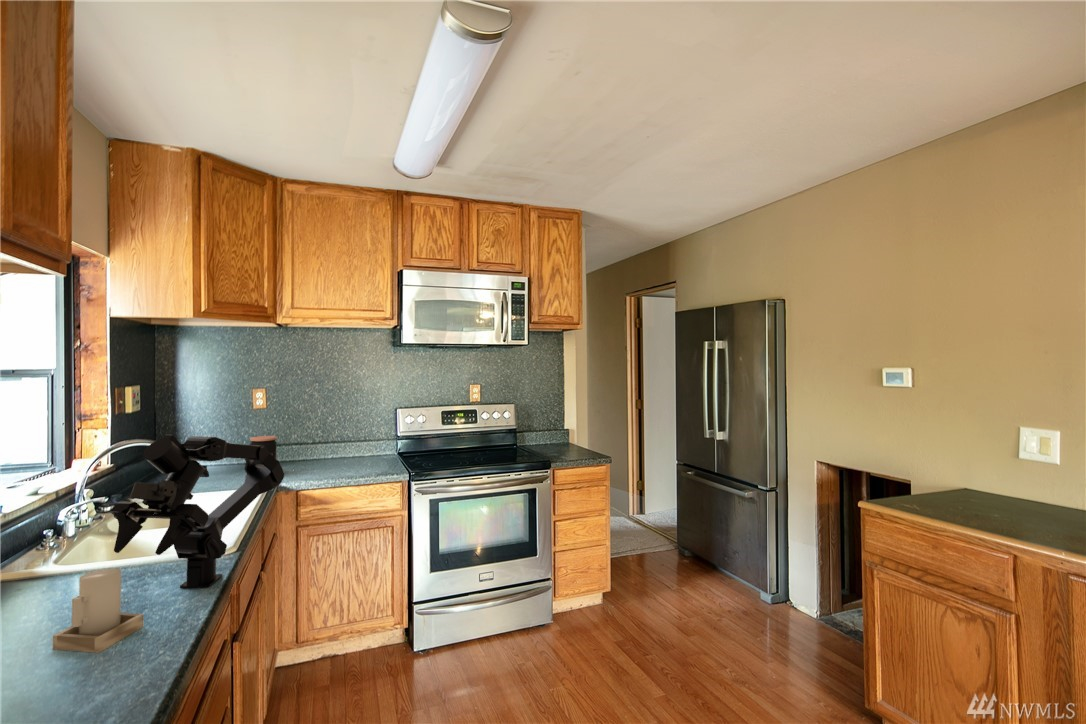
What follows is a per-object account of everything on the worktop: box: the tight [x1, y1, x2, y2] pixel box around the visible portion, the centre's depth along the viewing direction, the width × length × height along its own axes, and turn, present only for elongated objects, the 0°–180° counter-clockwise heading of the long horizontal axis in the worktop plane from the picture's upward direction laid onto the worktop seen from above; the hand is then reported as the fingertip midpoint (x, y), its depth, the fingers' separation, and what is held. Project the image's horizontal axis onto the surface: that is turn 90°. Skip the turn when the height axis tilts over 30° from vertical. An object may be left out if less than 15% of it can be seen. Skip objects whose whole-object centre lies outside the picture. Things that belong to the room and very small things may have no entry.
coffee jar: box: [249, 435, 277, 465], centre depth 236 cm, size 11×11×18 cm
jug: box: [71, 567, 122, 636], centre depth 97 cm, size 8×6×12 cm
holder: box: [52, 612, 144, 654], centre depth 98 cm, size 9×9×2 cm
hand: (136, 553), depth 106 cm, fingers open, 9 cm apart
